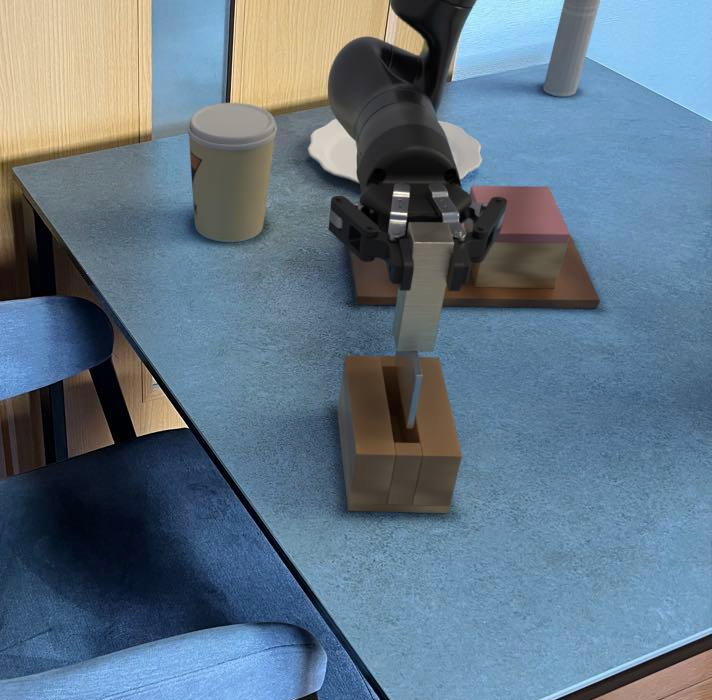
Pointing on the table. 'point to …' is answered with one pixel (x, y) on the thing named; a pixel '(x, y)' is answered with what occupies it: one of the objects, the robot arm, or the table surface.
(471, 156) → the plate
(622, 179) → the table surface
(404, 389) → the knife
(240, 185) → the coffee cup
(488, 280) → the cake
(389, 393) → the knife block
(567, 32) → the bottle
